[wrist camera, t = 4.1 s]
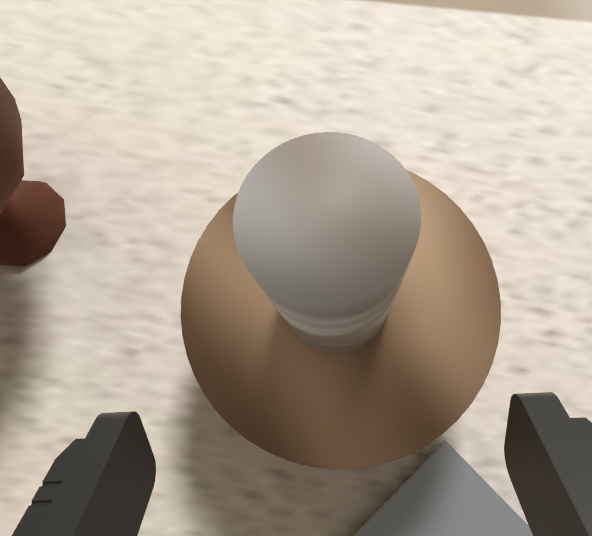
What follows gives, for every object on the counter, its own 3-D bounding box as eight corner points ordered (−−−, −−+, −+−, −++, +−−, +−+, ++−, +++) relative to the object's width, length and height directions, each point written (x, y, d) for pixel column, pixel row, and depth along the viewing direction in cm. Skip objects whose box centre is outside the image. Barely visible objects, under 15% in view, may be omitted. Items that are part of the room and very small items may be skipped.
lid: (332, 543, 18) (314, 684, 9) (128, 299, 22) (-37, 217, 12) (563, 306, 20) (756, 213, 10) (338, 113, 23) (331, -85, 14)
